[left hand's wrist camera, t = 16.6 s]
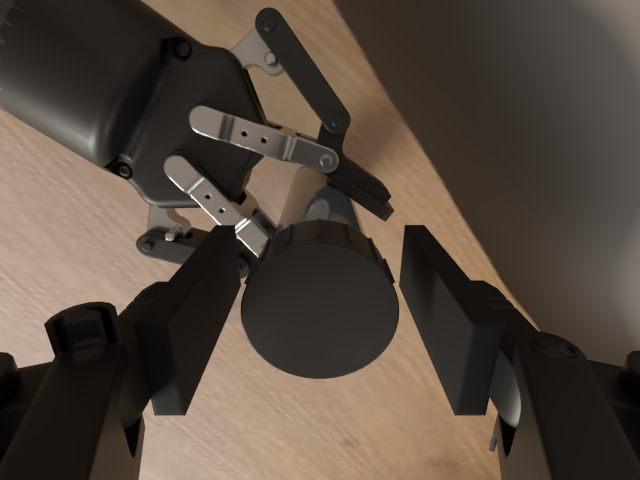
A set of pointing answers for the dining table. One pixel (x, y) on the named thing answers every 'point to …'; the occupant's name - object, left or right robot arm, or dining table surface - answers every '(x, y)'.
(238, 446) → the dining table surface
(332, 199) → the jar
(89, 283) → the dining table surface
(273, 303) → the lid
